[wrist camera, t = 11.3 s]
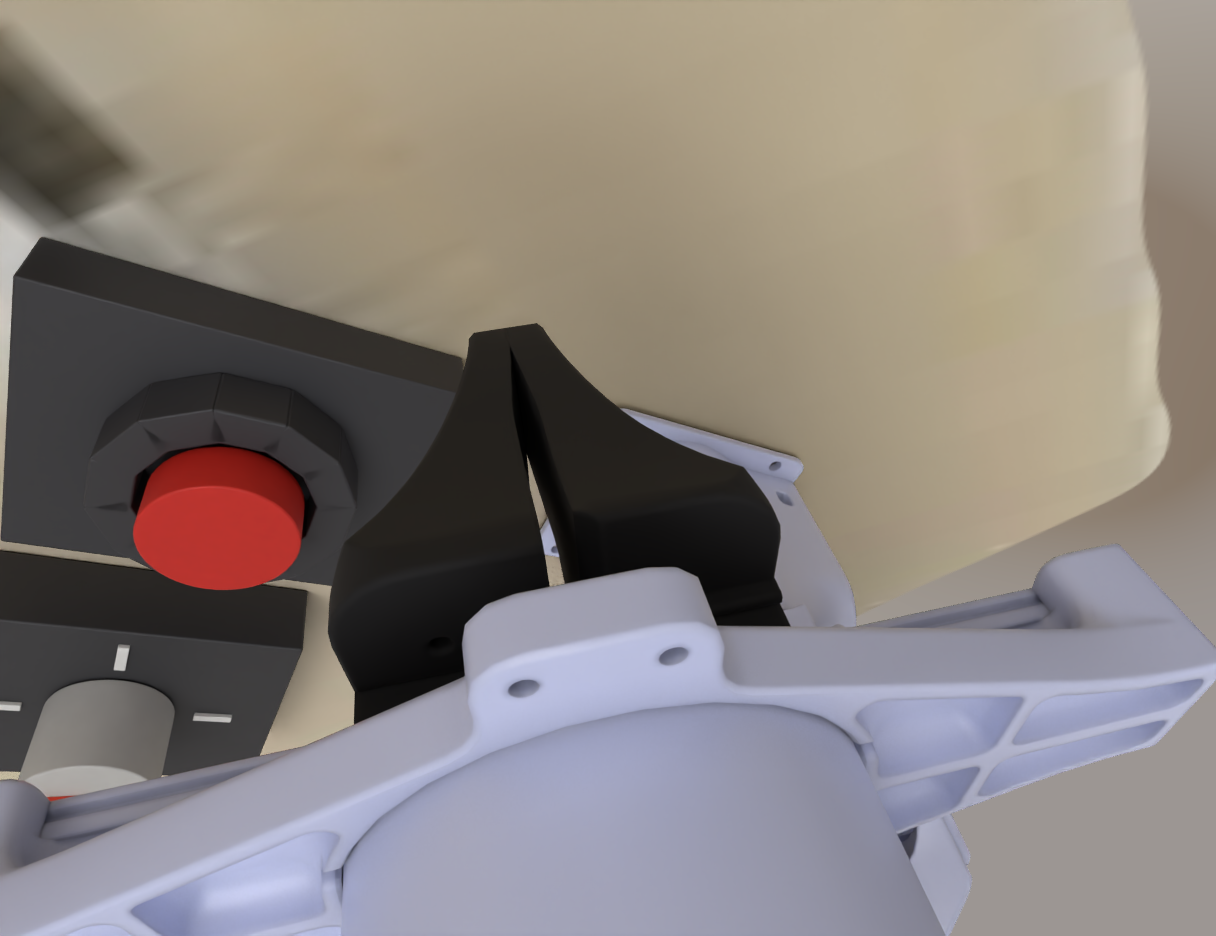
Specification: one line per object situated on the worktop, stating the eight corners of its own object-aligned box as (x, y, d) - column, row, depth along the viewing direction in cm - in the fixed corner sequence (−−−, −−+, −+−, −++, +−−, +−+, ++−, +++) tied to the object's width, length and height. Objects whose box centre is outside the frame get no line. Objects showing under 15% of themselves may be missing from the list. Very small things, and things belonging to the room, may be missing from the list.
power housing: (462, 357, 26) (472, 431, 23) (376, 551, 32) (376, 630, 29) (40, 235, 21) (-15, 312, 18) (22, 493, 26) (-22, 585, 23)
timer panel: (308, 590, 32) (302, 653, 30) (258, 719, 38) (250, 781, 35) (-51, 543, 27) (-91, 615, 25) (-50, 702, 32) (-83, 774, 30)
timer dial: (172, 677, 29) (152, 771, 27) (176, 738, 32) (158, 830, 29) (35, 679, 28) (-2, 779, 25) (51, 743, 31) (20, 840, 28)
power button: (320, 463, 23) (317, 504, 22) (287, 558, 26) (282, 599, 24) (156, 430, 21) (142, 472, 20) (136, 535, 24) (123, 579, 22)
